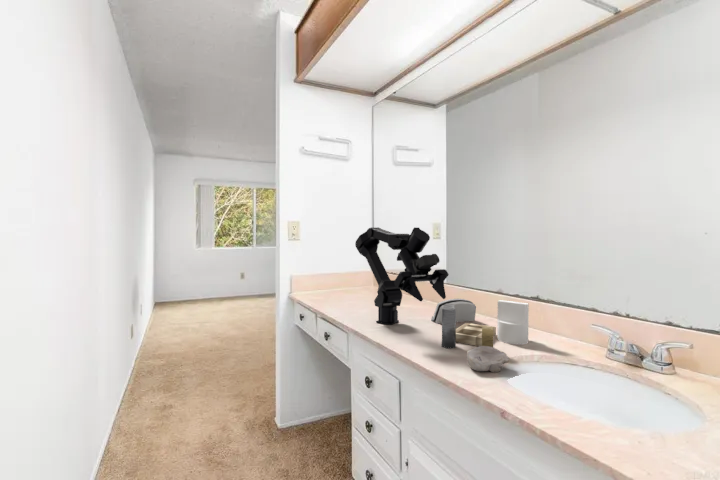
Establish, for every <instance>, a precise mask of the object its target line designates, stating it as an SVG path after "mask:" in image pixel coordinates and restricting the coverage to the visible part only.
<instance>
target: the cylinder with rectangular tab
mask: <svg viewBox="0 0 720 480" xmlns="http://www.w3.org/2000/svg"><path fill="white" fill-rule="evenodd" d="M529 305H530V304H529V303H528V302H521V301H512V300H505V299H499V300H497V328H496V336H497V340H498V341H499V342H502V343H506V344H510V345H526V344H528V343H529V316H530V315H529V311H530V310H529V309H530V308H529V307H530V306H529Z"/></svg>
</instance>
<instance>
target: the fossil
mask: <svg viewBox="0 0 720 480" xmlns="http://www.w3.org/2000/svg"><path fill="white" fill-rule="evenodd" d="M466 361H467V364H468V366H469V368H470V369H472V370H474V371H476V372H488V371H490V372H492V373H495V372H496V373H497V372H500V371H501V369H502V368H501V367H503V365H505V364H508V362H509V361H510V359H509V357H508V355H507V354H506V353H505V352H503V351H501V350H499V349H497V348H495V347H494V346H493V347H489V346H476V347H474V348H471V349H468V350H467V352H466Z"/></svg>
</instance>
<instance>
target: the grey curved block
mask: <svg viewBox="0 0 720 480" xmlns="http://www.w3.org/2000/svg"><path fill="white" fill-rule="evenodd" d="M446 303H448V304H454V309H456V323H463V322H465V321H466V322H475V321H476V314H477V313H476V311H477V306H476V304H475V303H474V302H472V301H471V300H469V299H465V298H449V299H446V300H445V299H444V300H442V301H440V302H438V303H437V304H436V307H435V311H434V314H433V316H431V322H434V323H435V324H440V325H441V324H442V309H443V308H444V304H446ZM466 322H465V323H466Z"/></svg>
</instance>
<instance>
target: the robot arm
mask: <svg viewBox="0 0 720 480" xmlns="http://www.w3.org/2000/svg"><path fill="white" fill-rule="evenodd" d="M430 239H431V237H430V235H429V233H427V232H426V231H424V230H422V229H420V227H413V229H412V231H411V233H410V234H409V233H395V232H391V231H388V230H386V229H382V228H380V227H369V228H367V230H366V231H364V232H362V234H360V235H359V236H358V238H356V240H355V248H356V250H357V251H358V253H359V254H360V256H363V257H364V258H365V260H366V261H367V263H368V265H369V267H370V271H371V273H372V274H373V276H374V278H375V281H376V283H377V284H378V287H377V288H378V289H377V292H376V293H377V295H376V296H375V299H374V300H373V301H374V306H375V307H377V308H378V309H377V310H378V311H377V312H378V316H377V317H378V318H377V319H378V320H375V322H376V323H378V324H384V325H389V326H390V325H391V326H392V325H394V324H396V323H399V318H398V317H399V314H398V313H399V312H398V309H397V308H398V307H400V306H401V303H402V299H403V292H405V293H407V294H408V295H410V296H412V297H413V298H414V299H416V300H418V301H419V302H422V301H424V299H423V295H422V294H421V291H420V289H419V288H418V286H417V283H418V282H419V283H420V282H429V283H430V285H432V286H431V288H433V290H434V292H436V293H437V294H438V295H439V297H441V298H442V299H443V300H445V299H446V298H447V295H446V291H445V290H446V289H445V283H444V282H445V280H446V279H447V278H448V276H449V273H448V271H447V270H446V269H445V268H443V269H442V268H441V269H440V268H439V269H435V270H434V271H433V272H432V274H429V273H430V272H431V271H432V268H433V267H434V266H437V264H439V263H440V262H441V261H440V257H439V256H438V254H436V253H432V254H423V255H421V256H419V255H418V254H419V253H423V250H424V249H425V248H426V247H425V246H426V245H427V244H428V242H429V241H430ZM380 242H383V243H386V244H387V247H389V248H390V249H391V250H393V251H395V250H396V251H398V250H399V252H398V253H397V256H396V261H398V262H399V261H402V263H403V266H404V267H405V268H404V270H403V271H399V273H398V274H397V276H396V278H395V279H393V280H392V279H391V278H390V277H389V274H388V272H387V270H386V267H385V266H384V264H383V262H382V259H381V258H380V256H379V253H378V252H377V251H378V247H379V244H380ZM416 282H417V283H416ZM402 291H403V292H402Z"/></svg>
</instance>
